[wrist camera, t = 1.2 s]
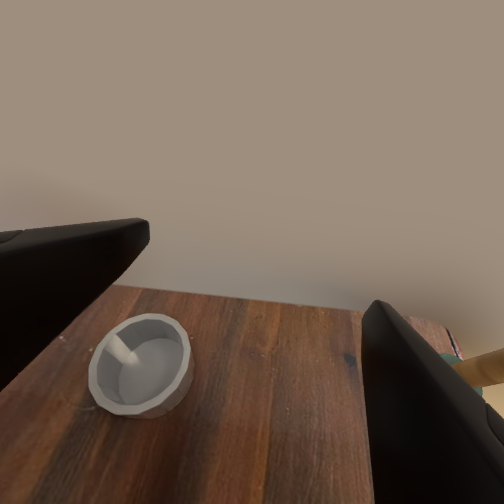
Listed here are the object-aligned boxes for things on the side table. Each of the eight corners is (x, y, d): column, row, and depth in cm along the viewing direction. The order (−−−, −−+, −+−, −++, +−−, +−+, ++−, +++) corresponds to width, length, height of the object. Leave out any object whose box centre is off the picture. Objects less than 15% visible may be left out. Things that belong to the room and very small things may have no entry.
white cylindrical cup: (187, 419, 18) (180, 414, 14) (100, 419, 17) (68, 414, 13) (199, 336, 22) (196, 315, 18) (129, 334, 21) (110, 311, 18)
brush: (442, 410, 21) (597, 391, 12) (406, 410, 20) (541, 391, 12) (422, 367, 23) (542, 327, 15) (390, 366, 23) (494, 325, 14)
